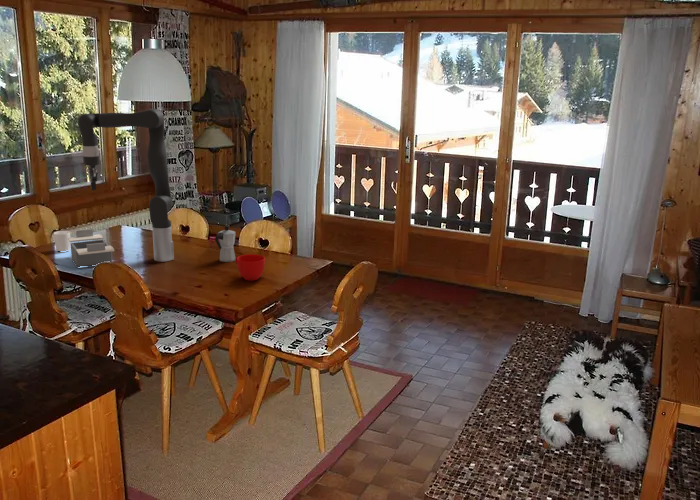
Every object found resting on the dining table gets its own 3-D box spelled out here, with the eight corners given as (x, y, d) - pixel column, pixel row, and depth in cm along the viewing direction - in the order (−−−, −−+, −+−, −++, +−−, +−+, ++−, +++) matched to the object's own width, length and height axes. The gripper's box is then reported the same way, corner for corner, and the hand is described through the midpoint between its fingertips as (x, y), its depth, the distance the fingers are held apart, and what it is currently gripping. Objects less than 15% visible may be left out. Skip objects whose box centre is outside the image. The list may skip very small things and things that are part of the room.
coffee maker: (229, 255, 349) (228, 222, 344) (242, 258, 344) (241, 224, 339) (209, 262, 336) (208, 227, 331) (222, 264, 332) (222, 230, 327)
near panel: (110, 247, 325) (110, 238, 323) (114, 251, 318) (113, 242, 317) (76, 250, 316) (75, 242, 315) (79, 254, 310) (78, 246, 309)
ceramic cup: (246, 270, 323) (246, 251, 321) (270, 278, 313) (270, 258, 310) (226, 276, 314) (225, 256, 311) (250, 284, 303) (250, 263, 301)
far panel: (100, 235, 345) (99, 227, 344) (103, 238, 339) (102, 230, 338) (67, 238, 337) (66, 230, 336) (70, 242, 331) (69, 234, 330)
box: (105, 256, 341) (103, 239, 338) (111, 264, 328) (110, 246, 325) (71, 260, 333) (70, 242, 330) (77, 268, 320) (75, 250, 317)
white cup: (60, 253, 343) (58, 235, 341) (52, 251, 348) (50, 232, 345) (74, 250, 349) (73, 232, 347) (66, 248, 354) (64, 229, 351)
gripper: (101, 156, 322) (104, 191, 326) (96, 153, 333) (99, 187, 337) (85, 157, 318) (88, 192, 323) (80, 153, 329) (83, 188, 333)
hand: (93, 189), depth 330 cm, fingers closed
